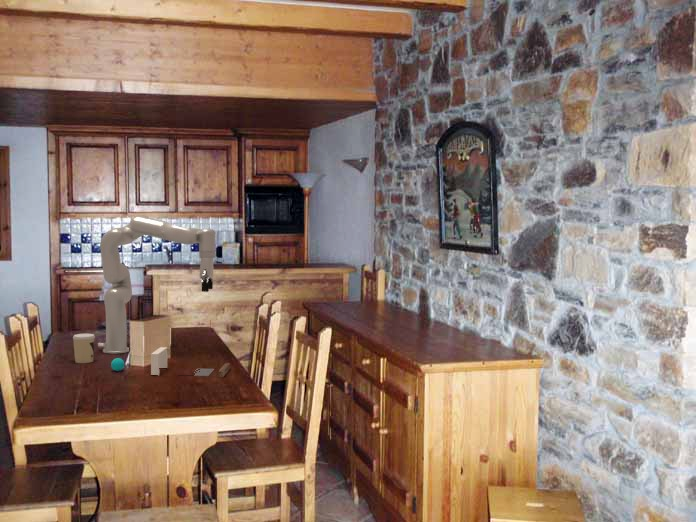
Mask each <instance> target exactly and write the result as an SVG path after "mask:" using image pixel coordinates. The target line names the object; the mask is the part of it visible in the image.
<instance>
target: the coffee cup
mask: <svg viewBox="0 0 696 522" xmlns="http://www.w3.org/2000/svg"><path fill="white" fill-rule="evenodd" d="M95 338H96V335H95V334H93V333H78V334H74V335H73V337H72V339H73V350H74V361H75V363H77V364H88V363H93V362H94V354H95Z"/></svg>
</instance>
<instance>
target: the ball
mask: <svg viewBox="0 0 696 522" xmlns="http://www.w3.org/2000/svg"><path fill="white" fill-rule="evenodd" d="M110 367H111V369H112V370H113V371H115V372H120V371H122V370H123V369H124V368H125V361H124V360H123V359H122V358H120V357H117V358H114V359H113V360H112V361H111V364H110Z"/></svg>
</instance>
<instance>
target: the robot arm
mask: <svg viewBox="0 0 696 522" xmlns="http://www.w3.org/2000/svg"><path fill="white" fill-rule="evenodd" d="M142 236H147V237H153V238H157V239H162V240H163V241H164V240H165V241H169V242H174V243H178V244H182V245H189V246H190V245H194V244H199V245H198V246H199V247H198V250H199V252H198V253H199V255H198V256H199V257H198V258H199V259H200V261H199V263H200V264H199V279H201V292H204V293H205V292H206V293H208V292H209V290H213V289H214V285H213V283H214V281H213V277H214V259H216V231H215V229H214V228H213V229H212V228H201V229H200V228H195V227H190V228H187V227H181V226H177V225H174V224H171V223H169V222H167V221H165V220H161V219H156V218H152V217H149V216H147V215H136V216H133V217H132V218H131V219H130V222H129V223H128V224H126V225H124V226H123V227H115V228H111V229H110V230H108V231H106V232H105V233H104V234H103V235H102V237H101V239H100V243H99V249H100V255H101V264H102V274H103V279H104V280H105V282H106V283H108V284H109V285H110V284H111V287H110V288H108V289H107V290H106V291H105V293H104V298H103V301H104V303H103V304H104V309H105V335H106V336H105V342H98V343H97V347H98V348H103V349H102V353H104V354H112V355H113V354H114V355H115V354H126V353H128V352H130V351H129V348H130V347H128V346H127V345H128V344H127V337H128V336H127V333H128V332H127V330H128V328H127V309H126V304H127V303H128V302H130V301H131V299H132V296H133V287H132V282H131V273H130V270H129V268H128V266H127V265H126V264H124V263H122V261H121V254H120V251H119V246H125V245H129V244H130V243H133V242H134V241H136V240H138V239H139V238H142Z"/></svg>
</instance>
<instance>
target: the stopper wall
mask: <svg viewBox="0 0 696 522" xmlns="http://www.w3.org/2000/svg"><path fill="white" fill-rule="evenodd" d="M230 369H231V363H230V362H225V363H224V364H223V365H222V366H221V368H220V369H219V370H218V371H217V375H218V376H217V377H218V378H224V377H225V376H226V374H227V373H228V372H229V371H230Z"/></svg>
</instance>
